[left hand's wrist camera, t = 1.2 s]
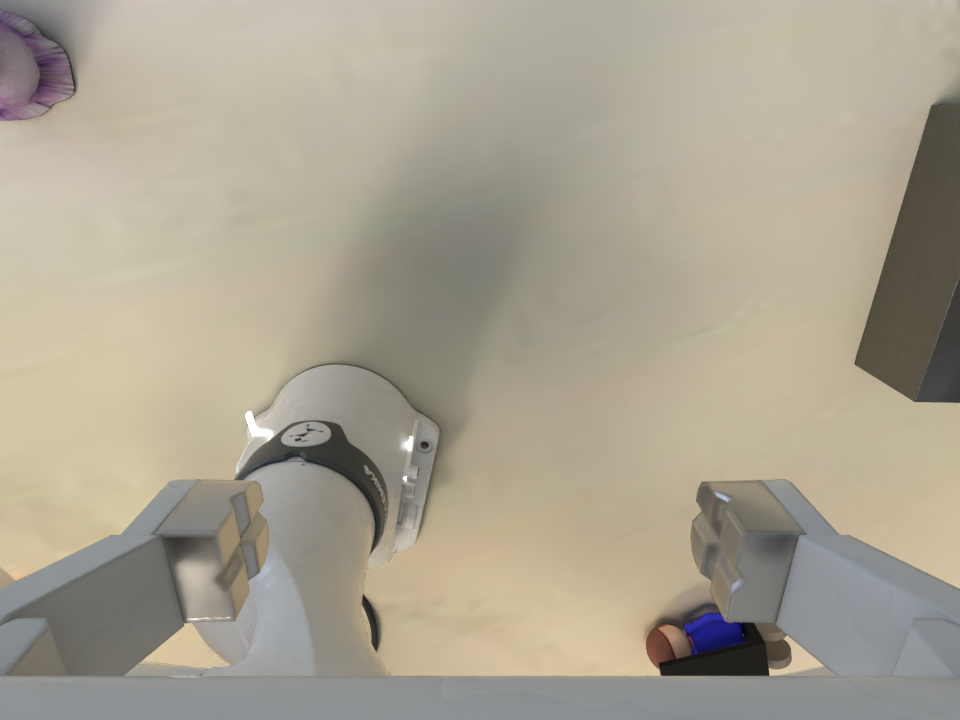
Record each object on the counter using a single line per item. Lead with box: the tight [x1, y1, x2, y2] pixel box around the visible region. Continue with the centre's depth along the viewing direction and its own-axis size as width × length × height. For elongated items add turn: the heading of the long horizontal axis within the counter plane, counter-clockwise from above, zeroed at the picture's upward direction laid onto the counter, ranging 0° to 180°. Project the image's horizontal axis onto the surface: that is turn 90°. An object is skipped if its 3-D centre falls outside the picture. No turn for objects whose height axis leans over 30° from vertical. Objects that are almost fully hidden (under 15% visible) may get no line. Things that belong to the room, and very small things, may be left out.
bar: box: [855, 103, 960, 403], centre depth 45 cm, size 22×6×8 cm, turn 179°
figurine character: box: [646, 613, 792, 676], centre depth 62 cm, size 7×8×15 cm
